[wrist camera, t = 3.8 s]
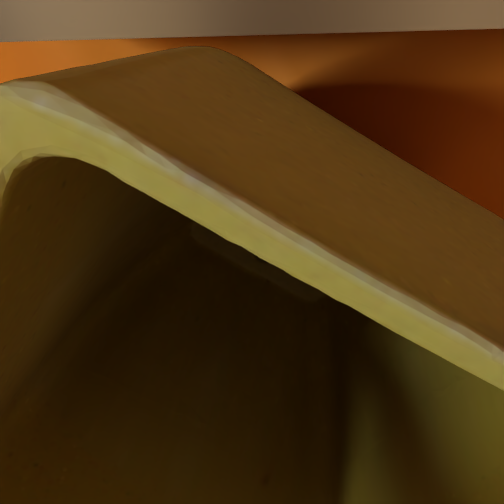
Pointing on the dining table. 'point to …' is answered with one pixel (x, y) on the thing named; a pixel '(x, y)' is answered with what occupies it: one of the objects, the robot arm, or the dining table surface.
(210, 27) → the wooden blocks
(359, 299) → the flower pot
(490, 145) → the dining table surface
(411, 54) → the dining table surface
